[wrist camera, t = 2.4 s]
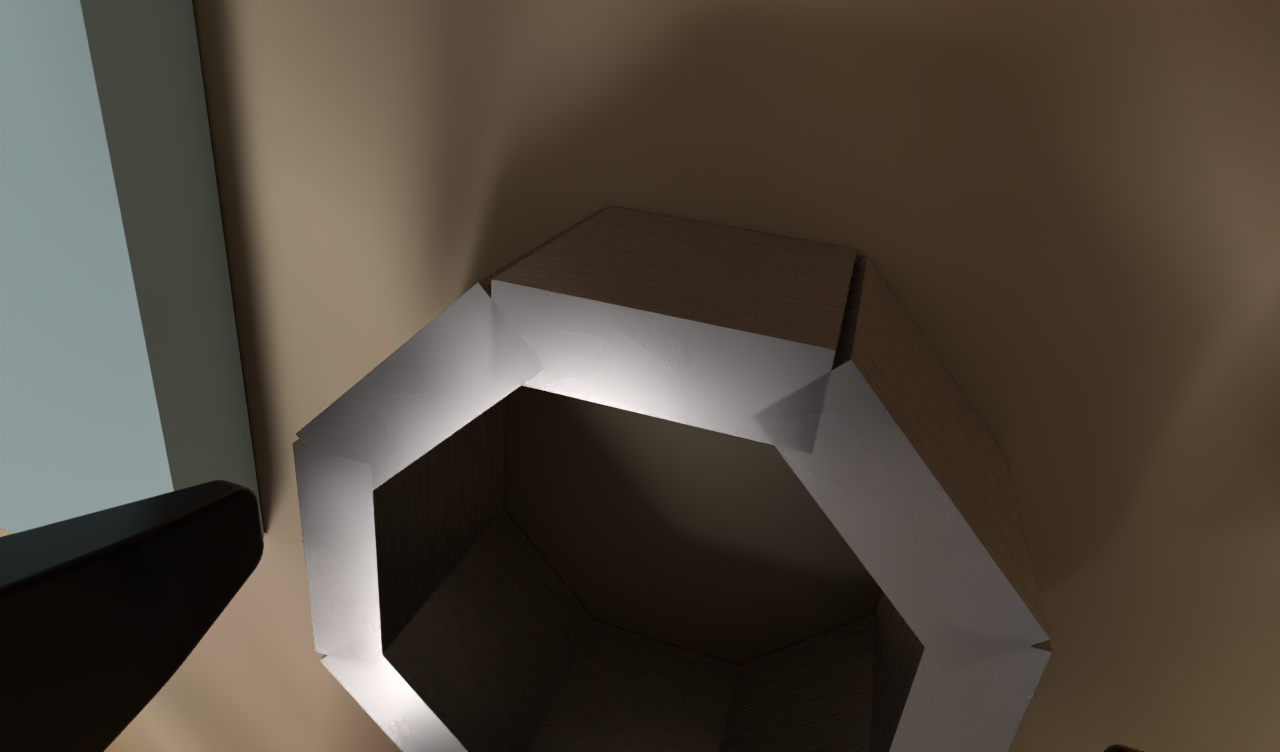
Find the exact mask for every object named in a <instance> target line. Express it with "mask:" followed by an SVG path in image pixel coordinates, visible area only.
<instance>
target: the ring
mask: <svg viewBox="0 0 1280 752" xmlns="http://www.w3.org/2000/svg"><path fill="white" fill-rule="evenodd" d="M856 252H857V249H851V248H846V247H840V246H834V245H829V244H823V243H817V242H812V241H806V240H800V239H794V238H789V237H783V236H777V235H772V234H766V233H760V232H755V231H749V230H743V229H738V228H732V227H726V226H721V225H715V224H709V223H704V222H698V221H692V220H686V219H681V218H675V217H669V216H664V215H658V214H652V213H647V212H641V211H635V210H630V209H624V208H618V207H613V206H611V207H609V208H608V209H606V210H604V211H602V209H600V210H598V211H597V212H595V213H593V214H592V215H590V216H588V217H587V218H585V219H583V220H582V221H580V222H578V223H577V224H575V225H573V226H572V227H570V228H568V229H566V230H565V231H563V232H561V233H560V234H558V235H556V236H555V237H553V238H551V239H550V240H548V241H546V242H545V243H543V244H541V245H540V246H538V247H536V248H535V249H533V250H531V251H530V252H528V253H526V254H525V255H523V256H521V257H520V258H518V259H516V260H515V261H513V262H511V263H510V264H508V265H506V266H505V267H503V268H501V269H499V270H498V271H496V272H494V273H493V274H491V275H489V276H488V277H486V278H484V279H483V280H481V281H479V282H478V283H477V284H475V285H474V286H473V287H472V288H471V289H469V290H468V291H467V292H466V293H465V294H463V295H462V296H461V297H460V298H459V299H457V300H456V301H455V302H454V303H453V304H451V305H450V306H449V307H448V308H447V309H445V310H444V311H443V312H442V313H441V314H439V315H438V316H437V317H436V318H435V319H433V320H432V321H431V322H430V323H429V324H427V325H426V326H425V327H424V328H423V329H421V330H420V331H419V332H418V333H417V334H415V335H414V336H413V337H412V338H411V339H409V340H408V341H407V342H406V343H405V344H403V345H402V346H401V347H400V348H399V349H397V350H396V351H395V352H394V353H393V354H391V355H390V356H389V357H388V358H387V359H385V360H384V361H383V362H382V363H380V364H379V365H378V366H377V367H376V368H374V369H373V370H372V371H371V372H370V373H368V374H367V375H366V376H365V377H364V378H362V379H361V380H360V381H359V382H358V383H356V384H355V385H354V386H353V387H352V388H350V389H349V390H348V391H347V392H346V393H344V394H343V395H342V396H341V397H340V398H338V399H337V400H336V401H335V402H334V403H332V404H331V405H330V406H329V407H328V408H326V409H325V410H324V411H323V412H322V413H320V414H319V415H318V416H317V417H316V418H314V419H313V420H312V421H311V422H310V423H308V424H307V425H306V426H305V427H304V428H302V429H301V430H300V431H299V432H298V433H296V435H297V436H298V437H299V438H300V439H298V440H297V441H295V442H294V443H293V452H294V461H295V470H296V479H297V489H298V498H299V507H300V516H301V525H302V535H303V544H304V553H305V562H306V572H307V581H308V590H309V599H310V608H311V618H312V627H313V636H314V645H315V651H316V652H319V653H321V654H324V656H323V657H322V658H321V659H320V661H321V662H322V663H323V665H324V666H325V667H326V668H327V669H328V670H329V671H330V672H331V673H332V674H333V676H334V677H335V678H336V679H337V680H338V681H339V682H340V683H341V684H342V686H343V687H344V688H345V689H346V690H347V691H348V692H349V693H350V694H351V695H352V697H353V698H354V699H355V700H356V701H357V702H358V703H359V704H360V705H361V707H362V708H363V709H364V710H365V711H366V712H367V713H368V714H369V715H370V717H371V718H372V719H373V720H374V721H375V722H376V723H377V724H378V725H379V726H380V728H381V729H382V730H383V731H384V732H385V733H386V734H387V735H388V736H389V738H390V739H391V740H392V741H393V742H394V743H395V744H396V745H397V746H398V747H399V749H400V750H401V751H402V752H1008V751H1009V748H1010V746H1011V744H1012V742H1013V739H1014V737H1015V735H1016V733H1017V730H1018V728H1019V726H1020V723H1021V721H1022V719H1023V717H1024V714H1025V712H1026V710H1027V708H1028V705H1029V703H1030V701H1031V699H1032V696H1033V694H1034V692H1035V690H1036V687H1037V685H1038V683H1039V681H1040V678H1041V676H1042V674H1043V672H1044V669H1045V667H1046V665H1047V662H1048V660H1049V658H1050V656H1051V653H1052V651H1051V646H1050V642H1049V640H1050V637H1049V632H1048V628H1047V624H1046V620H1045V616H1044V612H1043V607H1042V603H1041V599H1040V595H1039V591H1038V587H1037V582H1036V578H1035V574H1034V570H1033V566H1032V562H1031V557H1030V553H1029V549H1028V545H1027V541H1026V537H1025V532H1024V528H1023V524H1022V520H1021V516H1020V512H1019V507H1018V503H1017V499H1016V495H1015V491H1014V487H1013V483H1012V478H1011V474H1010V470H1009V466H1008V462H1007V458H1006V456H1005V454H1004V453H1003V451H1002V450H1001V449H1000V447H999V446H998V444H997V443H996V441H995V440H994V438H993V437H992V436H991V434H990V433H989V431H988V430H987V428H986V427H985V425H984V424H983V422H982V421H981V420H980V418H979V417H978V415H977V414H976V412H975V411H974V409H973V408H972V407H971V405H970V404H969V402H968V401H967V399H966V398H965V396H964V395H963V394H962V392H961V391H960V389H959V388H958V386H957V385H956V383H955V382H954V381H953V379H952V378H951V376H950V375H949V373H948V372H947V370H946V369H945V368H944V366H943V365H942V363H941V362H940V360H939V359H938V357H937V356H936V355H935V353H934V352H933V350H932V349H931V347H930V346H929V344H928V343H927V342H926V340H925V339H924V337H923V336H922V334H921V333H920V331H919V330H918V328H917V327H916V326H915V324H914V323H913V321H912V320H911V318H910V317H909V315H908V314H907V313H906V311H905V310H904V308H903V307H902V305H901V304H900V302H899V301H898V300H897V298H896V297H895V295H894V294H893V292H892V291H891V289H890V288H889V287H888V285H887V284H886V282H885V281H884V279H883V278H882V276H881V275H880V274H879V272H878V271H877V269H876V268H875V266H874V265H873V263H872V262H871V261H870V259H869V258H868V256H867V257H865V258H863V259H862V260H860V261H859V262H857V263H855V264H854V262H855V257H856ZM521 385H523V386H527V387H531V388H535V389H539V390H544V391H548V392H552V393H556V394H561V395H565V396H569V397H573V398H577V399H582V400H586V401H590V402H594V403H598V404H603V405H607V406H611V407H615V408H620V409H624V410H628V411H632V412H636V413H641V414H645V415H649V416H653V417H657V418H662V419H666V420H670V421H674V422H679V423H683V424H687V425H691V426H695V427H700V428H704V429H708V430H712V431H716V432H721V433H725V434H729V435H733V436H738V437H742V438H746V439H750V440H754V441H759V442H763V443H767V444H771V445H774V446H775V447H776V448H777V450H778V451H779V452H780V454H781V455H782V456H783V458H784V459H785V460H786V462H787V463H788V464H789V466H790V467H791V468H792V470H793V471H794V472H795V474H796V475H797V477H798V478H799V479H800V481H801V482H802V483H803V485H804V486H805V487H806V489H807V490H808V491H809V493H810V494H811V495H812V497H813V498H814V499H815V501H816V502H817V503H818V505H819V506H820V507H821V509H822V510H823V511H824V513H825V514H826V515H827V517H828V518H829V519H830V521H831V522H832V523H833V525H834V526H835V527H836V529H837V530H838V531H839V533H840V534H841V535H842V537H843V538H844V540H845V541H846V542H847V544H848V545H849V546H850V548H851V549H852V550H853V552H854V553H855V554H856V556H857V557H858V558H859V560H860V561H861V562H862V564H863V565H864V566H865V568H866V569H867V570H868V572H869V573H870V574H871V576H872V577H873V578H874V580H875V581H876V582H877V584H878V585H879V586H880V588H881V589H882V590H883V591H882V594H881V598H880V601H879V604H878V608H877V611H876V613H875V614H873V615H870V616H868V617H865V618H862V619H860V620H857V621H855V622H852V623H849V624H847V625H844V626H842V627H839V628H836V629H834V630H831V631H829V632H826V633H823V634H821V635H818V636H816V637H813V638H810V639H808V640H805V641H803V642H800V643H797V644H795V645H792V646H790V647H787V648H784V649H782V650H779V651H777V652H774V653H771V654H769V655H766V656H764V657H761V658H758V659H756V660H753V661H751V662H748V663H745V664H743V665H740V666H739V665H736V664H733V663H729V662H726V661H723V660H719V659H716V658H713V657H710V656H706V655H703V654H700V653H697V652H693V651H690V650H687V649H683V648H680V647H677V646H674V645H670V644H667V643H664V642H660V641H657V640H654V639H651V638H647V637H644V636H641V635H637V634H634V633H631V632H628V631H624V630H621V629H618V628H614V627H611V626H608V625H605V624H601V623H598V622H595V621H594V619H593V618H592V617H591V616H590V614H589V613H588V612H587V611H586V610H585V608H584V607H583V606H582V605H581V604H580V602H579V601H578V600H577V599H576V597H575V596H574V595H573V594H572V593H571V591H570V590H569V589H568V588H567V587H566V585H565V584H564V583H563V582H562V581H561V579H560V578H559V577H558V576H557V574H556V573H555V572H554V571H553V570H552V568H551V567H550V566H549V565H548V564H547V562H546V561H545V560H544V559H543V557H542V556H541V555H540V554H539V553H538V551H537V550H536V549H535V548H534V547H533V545H532V544H531V543H530V542H529V541H528V539H527V538H526V537H525V536H524V534H523V533H522V532H521V531H520V530H519V528H518V527H517V526H516V525H515V524H514V522H513V521H512V520H511V519H510V517H509V516H508V515H507V514H506V513H505V511H504V510H503V495H504V460H505V425H506V396H507V395H508V394H510V393H511V392H513V391H514V390H516V389H517V388H518V387H520V386H521Z"/></svg>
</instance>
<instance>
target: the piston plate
mask: <svg viewBox="0 0 1280 752" xmlns="http://www.w3.org/2000/svg"><path fill="white" fill-rule="evenodd" d="M214 480H225V481H229V482H233V483H236V484H239V485H243V486H246V487H249V488H250V489H252V490H253V491H254V493H255V494H256V496H257V499H258V505H259V512H260V520H261V527H262V535H263V538H264V531H263V523H262V516H261V508H260V501H259V493H258V486H257V479H256V471H255V464H254V456H253V449H252V442H251V434H250V427H249V419H248V412H247V404H246V397H245V390H244V382H243V375H242V367H241V360H240V353H239V345H238V338H237V330H236V323H235V315H234V308H233V301H232V293H231V286H230V278H229V271H228V264H227V256H226V249H225V241H224V234H223V227H222V219H221V212H220V204H219V197H218V189H217V182H216V175H215V167H214V160H213V152H212V145H211V138H210V130H209V123H208V115H207V108H206V100H205V93H204V86H203V78H202V71H201V63H200V56H199V49H198V41H197V34H196V26H195V19H194V12H193V4H192V0H0V528H1V529H3V530H6V531H9V532H12V533H18V532H22V531H26V530H29V529H33V528H37V527H41V526H44V525H48V524H52V523H56V522H60V521H63V520H67V519H71V518H75V517H78V516H82V515H86V514H90V513H93V512H97V511H101V510H105V509H108V508H112V507H116V506H120V505H123V504H127V503H131V502H135V501H139V500H142V499H146V498H150V497H154V496H157V495H161V494H165V493H169V492H172V491H176V490H180V489H184V488H187V487H191V486H195V485H199V484H202V483H206V482H210V481H214Z"/></svg>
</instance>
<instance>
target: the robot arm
mask: <svg viewBox="0 0 1280 752" xmlns="http://www.w3.org/2000/svg"><path fill="white" fill-rule="evenodd" d="M263 548H264V542H263V535H262V527H261V520H260V512H259V505H258V499H257V496H256V494H255V493H254V491H253V490H252V489H250V488H249V487H246V486H243V485H239V484H236V483H233V482H229V481H225V480H214V481H210V482H206V483H202V484H199V485H195V486H191V487H187V488H184V489H180V490H176V491H172V492H169V493H165V494H161V495H157V496H154V497H150V498H146V499H142V500H139V501H135V502H131V503H127V504H123V505H120V506H116V507H112V508H108V509H105V510H101V511H97V512H93V513H90V514H86V515H82V516H78V517H75V518H71V519H67V520H63V521H60V522H56V523H52V524H48V525H44V526H41V527H37V528H33V529H29V530H26V531H22V532H18V533H14V534H11V535H7V536H3V537H0V752H104V751H105V750H106V749H107V748H108V746H109V745H110V744H111V743H112V742H113V741H114V740H115V739H116V738H117V737H118V736H119V735H120V733H121V732H122V731H123V730H124V729H125V728H126V727H127V726H128V725H129V724H130V723H131V721H132V720H133V719H134V718H135V717H136V716H137V715H138V714H139V713H140V712H141V711H142V710H143V708H144V707H145V706H146V705H147V704H148V703H149V702H150V701H151V700H152V699H153V698H154V696H155V695H156V694H157V693H158V692H159V691H160V690H161V688H162V687H163V686H164V685H165V684H166V683H167V682H168V681H169V679H170V678H171V677H172V676H173V675H174V673H175V672H176V671H177V670H178V668H179V667H180V666H181V665H182V663H183V662H184V661H185V660H186V658H187V657H188V656H189V655H190V653H191V652H192V651H193V649H194V648H195V647H196V645H197V644H198V643H199V642H200V640H201V639H202V638H203V636H204V635H205V634H206V632H207V631H208V630H209V629H210V627H211V626H212V625H213V623H214V622H215V621H216V619H217V618H218V617H219V616H220V614H221V613H222V612H223V610H224V609H225V608H226V606H227V605H228V604H229V602H230V601H231V600H232V599H233V597H234V596H235V595H236V593H237V592H238V591H239V589H240V588H241V587H242V586H243V584H244V583H245V582H246V580H247V579H248V578H249V576H250V575H251V574H252V573H253V571H254V570H255V569H256V567H257V566H258V564H259V562H260V560H261V557H262V554H263ZM1104 752H1144V751H1140V750H1137V749H1134V748H1130V747H1127V746H1123V745H1119V744H1115V745H1110V746H1109V747H1108V748H1106V749H1105V751H1104Z"/></svg>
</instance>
